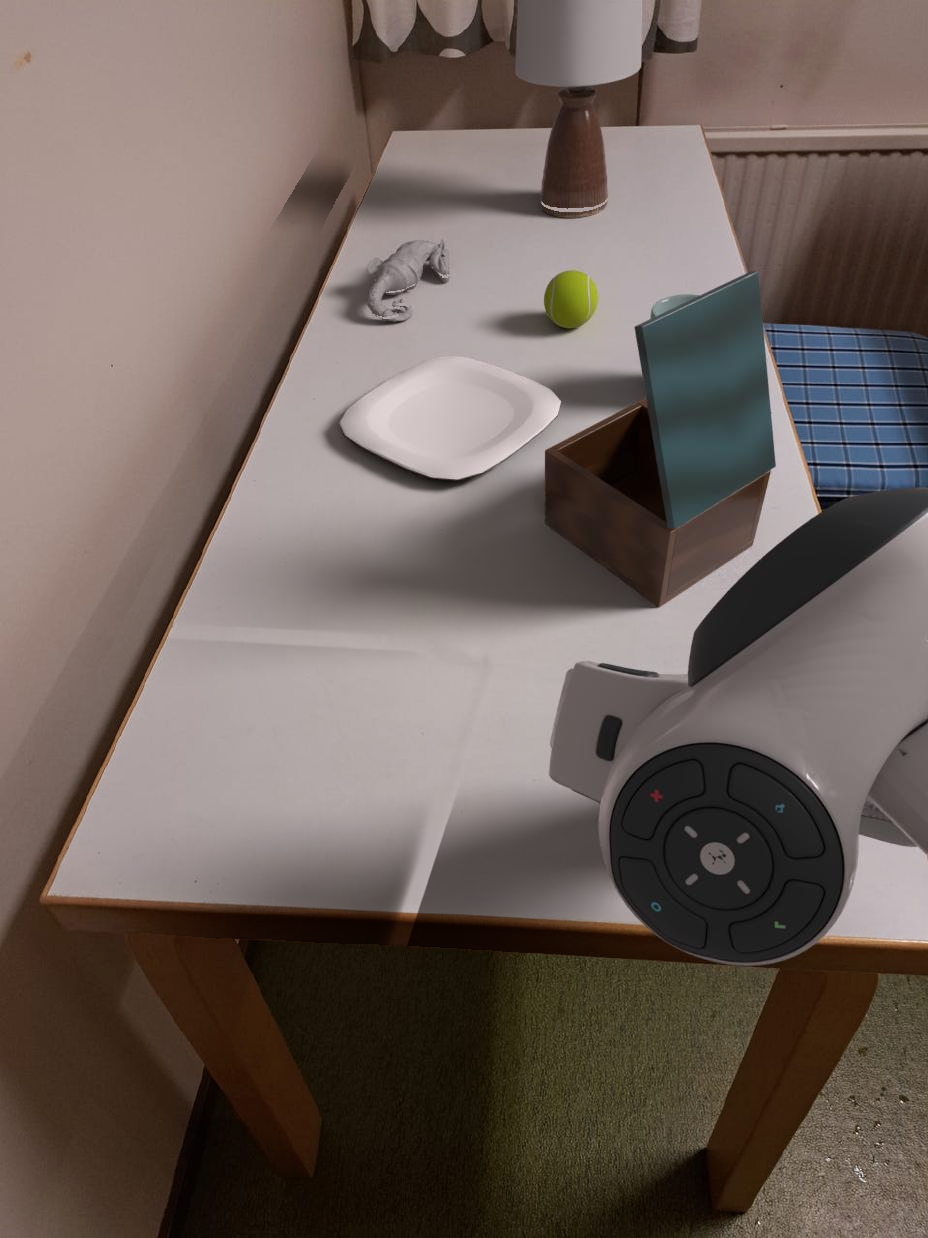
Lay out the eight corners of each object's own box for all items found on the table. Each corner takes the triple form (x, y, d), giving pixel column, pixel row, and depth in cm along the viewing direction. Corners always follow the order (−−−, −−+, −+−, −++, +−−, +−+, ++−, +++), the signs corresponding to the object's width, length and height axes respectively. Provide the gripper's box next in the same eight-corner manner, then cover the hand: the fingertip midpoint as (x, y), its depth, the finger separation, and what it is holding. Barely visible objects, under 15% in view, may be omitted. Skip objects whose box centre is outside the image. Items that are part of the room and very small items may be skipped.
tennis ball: (596, 311, 113) (599, 260, 108) (596, 337, 108) (599, 284, 103) (544, 312, 114) (544, 261, 109) (542, 338, 109) (543, 285, 104)
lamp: (557, 238, 130) (562, -65, 104) (497, 201, 142) (487, -79, 115) (653, 208, 136) (681, -87, 109) (588, 175, 147) (598, -98, 121)
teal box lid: (633, 326, 60) (641, 326, 60) (750, 271, 65) (758, 270, 64) (667, 527, 68) (674, 529, 68) (768, 465, 73) (776, 466, 72)
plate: (460, 505, 86) (459, 492, 85) (319, 435, 97) (316, 423, 96) (582, 410, 97) (583, 397, 96) (443, 356, 108) (442, 344, 106)
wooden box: (544, 523, 84) (544, 450, 77) (634, 471, 88) (642, 399, 82) (659, 608, 75) (670, 532, 68) (752, 545, 79) (771, 470, 73)
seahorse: (436, 318, 112) (461, 235, 123) (353, 291, 111) (386, 209, 122) (428, 348, 117) (453, 265, 128) (348, 322, 115) (380, 240, 126)
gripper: (992, 768, 36) (929, 729, 49) (546, 652, 43) (594, 644, 56) (954, 905, 37) (901, 830, 50) (518, 770, 43) (573, 735, 56)
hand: (736, 731), depth 53 cm, fingers closed on pill bottle, 6 cm apart
